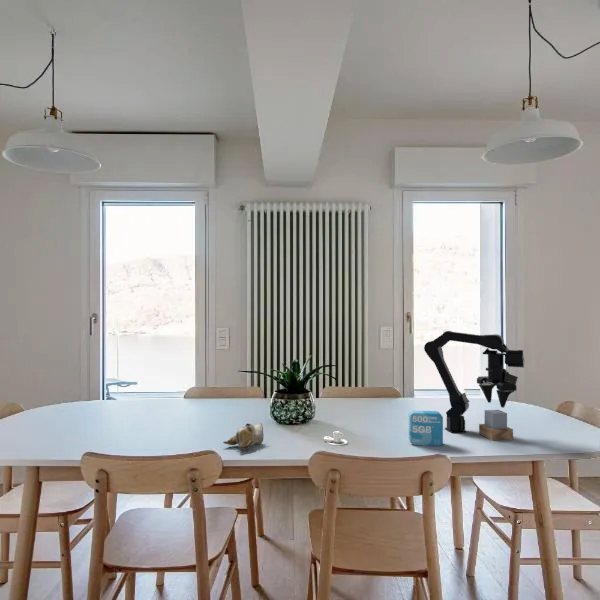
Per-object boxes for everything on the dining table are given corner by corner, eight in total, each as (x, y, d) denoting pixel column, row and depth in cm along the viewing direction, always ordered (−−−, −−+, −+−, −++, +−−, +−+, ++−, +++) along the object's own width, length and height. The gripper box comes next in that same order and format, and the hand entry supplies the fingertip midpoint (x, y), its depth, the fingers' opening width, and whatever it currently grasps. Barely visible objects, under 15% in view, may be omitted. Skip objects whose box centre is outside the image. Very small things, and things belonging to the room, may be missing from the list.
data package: (410, 445, 168) (410, 412, 168) (408, 441, 172) (408, 410, 172) (443, 446, 166) (443, 413, 166) (440, 442, 171) (440, 411, 171)
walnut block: (491, 440, 174) (491, 430, 174) (479, 433, 183) (479, 424, 183) (513, 439, 175) (512, 429, 175) (499, 433, 184) (499, 423, 184)
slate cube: (493, 428, 176) (493, 413, 176) (484, 424, 181) (484, 410, 182) (507, 428, 176) (507, 413, 176) (498, 424, 182) (498, 409, 182)
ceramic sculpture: (271, 421, 167) (240, 431, 156) (272, 444, 167) (241, 456, 156) (252, 416, 174) (221, 426, 163) (253, 438, 174) (222, 449, 163)
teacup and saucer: (320, 442, 171) (320, 431, 172) (334, 438, 177) (334, 428, 177) (338, 447, 165) (338, 436, 165) (351, 443, 171) (351, 432, 171)
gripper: (529, 368, 171) (529, 409, 171) (500, 362, 190) (500, 399, 189) (502, 369, 170) (502, 410, 169) (475, 363, 188) (476, 400, 188)
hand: (495, 404), depth 179 cm, fingers open, 9 cm apart
